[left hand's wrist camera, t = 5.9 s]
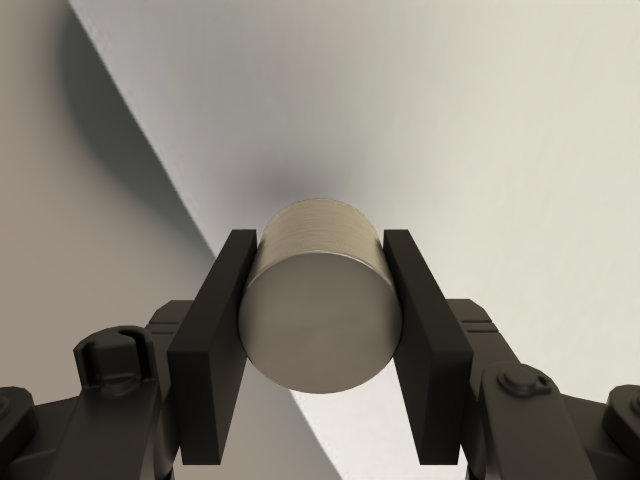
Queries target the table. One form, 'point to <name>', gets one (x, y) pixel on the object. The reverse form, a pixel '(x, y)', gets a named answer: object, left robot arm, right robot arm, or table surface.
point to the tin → (320, 300)
